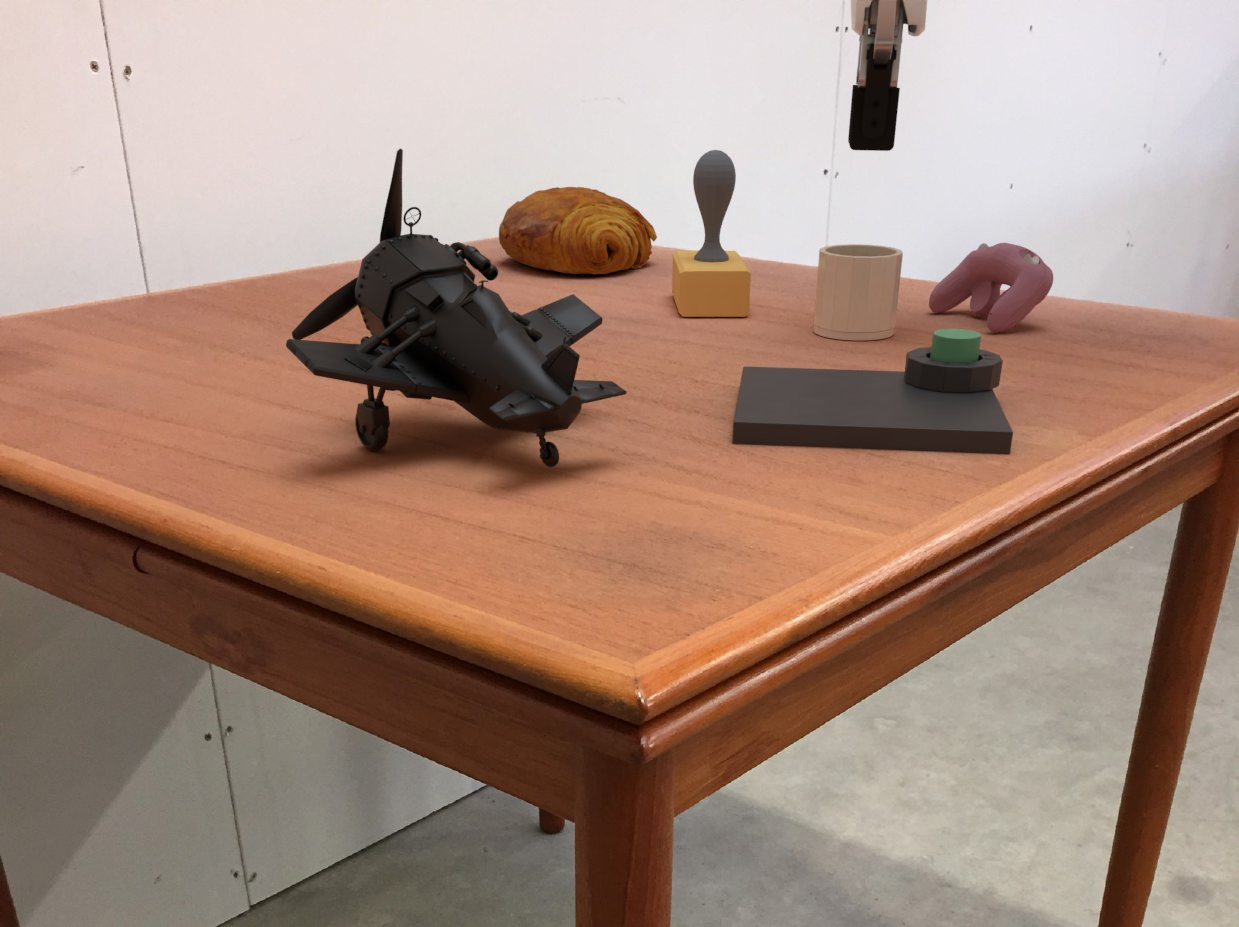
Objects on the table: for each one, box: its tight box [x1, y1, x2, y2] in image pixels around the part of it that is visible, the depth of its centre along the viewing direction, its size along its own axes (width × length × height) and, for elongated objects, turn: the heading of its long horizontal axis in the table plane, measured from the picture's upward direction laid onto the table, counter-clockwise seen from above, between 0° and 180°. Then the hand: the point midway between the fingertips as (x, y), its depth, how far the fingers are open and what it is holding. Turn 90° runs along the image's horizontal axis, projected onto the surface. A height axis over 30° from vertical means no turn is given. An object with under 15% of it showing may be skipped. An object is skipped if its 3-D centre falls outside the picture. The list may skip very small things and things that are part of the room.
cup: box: [812, 243, 904, 342], centre depth 104 cm, size 6×6×6 cm
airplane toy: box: [285, 148, 628, 468], centre depth 75 cm, size 20×19×15 cm
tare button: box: [930, 328, 982, 363], centre depth 85 cm, size 3×3×2 cm
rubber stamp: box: [671, 149, 752, 318], centre depth 112 cm, size 10×6×12 cm, turn 2°
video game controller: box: [928, 242, 1054, 334], centre depth 109 cm, size 10×5×7 cm, turn 22°
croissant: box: [498, 186, 658, 275], centre depth 130 cm, size 14×16×8 cm
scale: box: [731, 346, 1014, 455], centre depth 83 cm, size 16×14×3 cm
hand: (870, 145), depth 99 cm, fingers closed
